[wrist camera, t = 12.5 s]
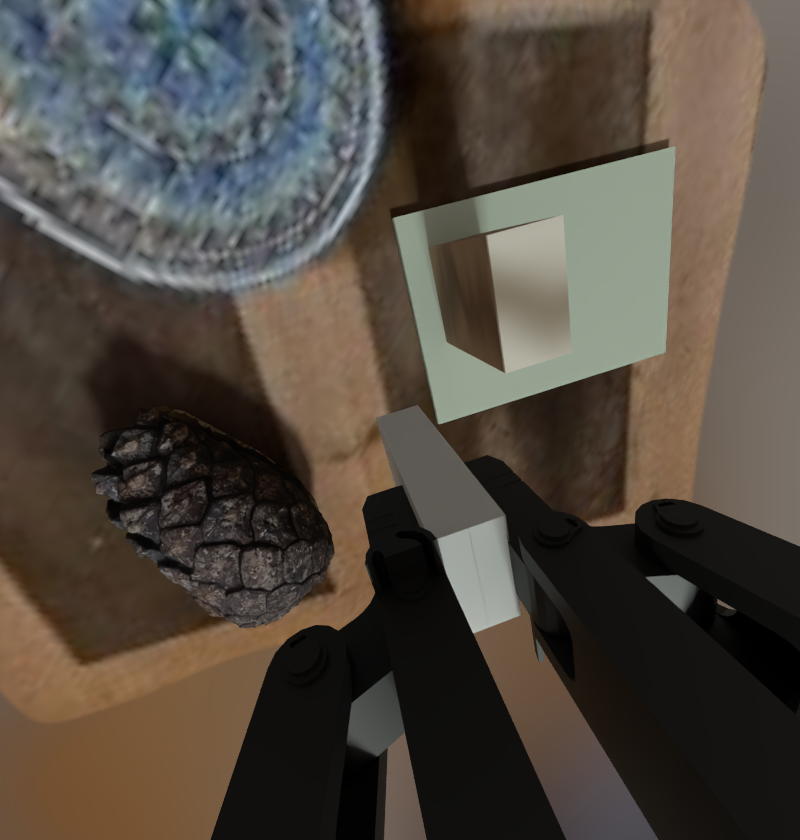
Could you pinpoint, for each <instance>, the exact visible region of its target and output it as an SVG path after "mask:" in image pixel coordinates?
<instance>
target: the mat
mask: <svg viewBox="0 0 800 840" xmlns="http://www.w3.org/2000/svg"><path fill="white" fill-rule="evenodd" d="M674 166H675V146H674V147H670V148H666V149H662V150H658V151H654V152H650V153H646V154H642V155H639V156H635V157H631V158H627V159H623V160H619V161H615V162H611V163H607V164H603V165H599V166H595V167H591V168H587V169H584V170H580V171H576V172H572V173H568V174H564V175H560V176H556V177H552V178H548V179H544V180H540V181H536V182H532V183H528V184H525V185H521V186H517V187H513V188H509V189H505V190H501V191H497V192H493V193H489V194H485V195H481V196H477V197H473V198H470V199H466V200H462V201H458V202H454V203H450V204H446V205H442V206H438V207H434V208H430V209H426V210H422V211H418V212H415V213H411V214H407V215H403V216H399V217H395V218H393V219H392V222H393V226H394V231H395V235H396V240H397V245H398V249H399V254H400V258H401V263H402V267H403V272H404V276H405V281H406V285H407V290H408V294H409V299H410V303H411V308H412V313H413V317H414V322H415V326H416V331H417V335H418V340H419V344H420V349H421V353H422V358H423V362H424V367H425V371H426V376H427V381H428V385H429V390H430V394H431V399H432V403H433V408H434V412H435V417H436V421H437V423H438V424H442V423H445V422H448V421H451V420H454V419H458V418H461V417H464V416H467V415H470V414H473V413H476V412H480V411H483V410H486V409H489V408H492V407H495V406H498V405H502V404H505V403H508V402H511V401H514V400H517V399H521V398H524V397H527V396H530V395H533V394H536V393H539V392H543V391H546V390H549V389H552V388H555V387H558V386H561V385H565V384H568V383H571V382H574V381H577V380H580V379H584V378H587V377H590V376H593V375H596V374H599V373H602V372H606V371H609V370H612V369H615V368H618V367H621V366H624V365H628V364H631V363H634V362H637V361H640V360H643V359H647V358H650V357H653V356H656V355H659V354H662V353H665V352H666V332H667V311H668V290H669V269H670V249H671V228H672V207H673V186H674ZM559 215H563V216H564V232H565V249H566V266H567V283H568V299H569V316H570V333H571V350H572V353H570V354H566V355H563V356H560V357H557V358H554V359H550V360H547V361H544V362H541V363H538V364H535V365H531V366H528V367H525V368H522V369H519V370H515V371H512V372H509V373H504V372H502V371H500V370H498V369H496V368H494V367H492V366H490V365H489V364H487V363H485V362H483V361H481V360H479V359H477V358H475V357H473V356H472V355H470V354H468V353H466V352H464V351H462V350H460V349H458V348H456V347H454V346H453V345H451V344H449V343H447V341H446V336H445V331H444V326H443V320H442V315H441V310H440V305H439V300H438V295H437V290H436V285H435V280H434V274H433V269H432V264H431V259H430V254H429V249H428V247H432V246H436V245H440V244H443V243H447V242H451V241H454V240H458V239H462V238H465V237H469V236H473V235H476V234H480V233H484V232H489V231H493V230H498V229H502V228H507V227H511V226H515V225H520V224H524V223H529V222H533V221H537V220H542V219H546V218H551V217H555V216H559Z"/></svg>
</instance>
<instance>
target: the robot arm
mask: <svg viewBox="0 0 800 840" xmlns="http://www.w3.org/2000/svg"><path fill="white" fill-rule="evenodd" d="M376 420H377V423H378V427H379V430H380V433H381V437H382V440H383V444H384V447H385V451H386V454H387V457H388V461H389V464H390V468H391V471H392V475H393V478H394V481H395V485H396V487H394V488H391V489H388V490H385V491H382V492H379V493H376V494H373V495H370V496H367V499H366V501H365V504H364V506H363V509H362V511H363V516H364V520H365V524H366V530H367V534H368V539H369V544H370V548H369V550H368V551H367V553H366V561H365V565H366V568H367V571H368V574H369V576H370V579H371V582H372V585H373V587H374V590H375V595H374V597H373V599H372V601H371V603H370V604H369V605H368V607H367V608H366V609H365V610H364V612H363V613H361V614H360V615H359V616H358V617H357V618H355V619H354V620H353V621H351V622H350V623H349V624H347V625H346V626H344V627H343V628H342V629H340V630H339V631H338V630H336V629H334V628H332V627H330V626H325V625H315V626H312V627H309V628H306V629H303V630H300V631H299V632H298V633H296V634H295V635H293V636H292V637H290V638H289V639H287V640H286V642H285V643H284V644H283V645H282V646H281V647H280V648H279V650H278V651H277V652H276V653H275V655H274V657H273V659H272V661H271V663H270V665H269V667H268V670H267V672H266V676H265V678H264V681H263V684H262V687H261V690H260V693H259V697H258V700H257V702H256V705H255V708H254V711H253V715H252V717H251V720H250V723H249V726H248V729H247V732H246V735H245V738H244V741H243V744H242V747H241V750H240V753H239V756H238V759H237V762H236V765H235V768H234V771H233V774H232V777H231V780H230V783H229V786H228V789H227V792H226V795H225V798H224V801H223V804H222V807H221V810H220V813H219V816H218V819H217V822H216V825H215V828H214V831H213V834H212V837H211V840H384V823H385V799H386V775H387V750H388V747H389V746H390V745H391V744H392V743H393V742H394V741H395V740H397V739H398V738H399V737H400V736H401V735H402V734H403V733H404V732H405V735H406V740H407V744H408V749H409V754H410V760H411V764H412V769H413V774H414V779H415V784H416V789H417V794H418V799H419V803H420V808H421V813H422V818H423V823H424V828H425V833H426V838H427V840H566V838H565V836H564V834H563V832H562V829H561V827H560V825H559V823H558V821H557V818H556V816H555V814H554V812H553V810H552V807H551V805H550V803H549V801H548V798H547V796H546V794H545V792H544V789H543V787H542V785H541V783H540V781H539V779H538V776H537V774H536V772H535V770H534V767H533V765H532V763H531V761H530V759H529V756H528V754H527V752H526V750H525V747H524V745H523V743H522V741H521V739H520V736H519V734H518V732H517V730H516V727H515V725H514V723H513V721H512V719H511V716H510V714H509V712H508V710H507V707H506V705H505V703H504V701H503V699H502V696H501V694H500V692H499V690H498V688H497V686H496V683H495V681H494V679H493V676H492V674H491V672H490V670H489V667H488V665H487V663H486V661H485V659H484V656H483V654H482V652H481V650H480V648H479V645H478V643H477V641H476V639H475V636H474V634H473V633H475V632H477V631H481V630H483V629H486V628H488V627H491V626H494V625H496V624H499V623H501V622H504V621H507V620H509V619H512V618H515V617H517V616H520V615H521V609H520V603H519V599H520V600H521V602H522V604H523V605H524V607H525V608H526V610H527V611H528V613H529V615H530V619H531V626H532V632H533V639H534V646H535V652H536V655H537V658H538V660H539V662H542V661H544V656H543V651H544V652H545V654H546V656H547V657H548V659H549V661H550V662H551V664H552V665H553V667H554V669H555V671H556V672H557V674H558V675H559V677H560V679H561V680H562V682H563V684H564V685H565V687H566V689H567V690H568V692H569V693H570V695H571V697H572V698H573V700H574V702H575V703H576V705H577V707H578V708H579V710H580V712H581V713H582V715H583V717H584V718H585V720H586V721H587V723H588V725H589V726H590V728H591V730H592V731H593V733H594V734H595V736H596V738H597V739H598V741H599V743H600V744H601V746H602V748H603V749H604V751H605V752H606V754H607V756H608V757H609V759H610V761H611V762H612V764H613V766H614V767H615V769H616V771H617V772H618V774H619V776H620V777H621V779H622V780H623V782H624V784H625V785H626V787H627V789H628V790H629V792H630V794H631V795H632V797H633V798H634V800H635V802H636V803H637V805H638V807H639V808H640V810H641V812H642V813H643V815H644V817H645V818H646V820H647V821H648V823H649V825H650V826H651V828H652V830H653V831H654V833H655V835H656V836H657V838H658V839H659V840H800V546H797V545H795V544H792V543H790V542H787V541H785V540H783V539H780V538H778V537H776V536H773V535H771V534H768V533H766V532H763V531H761V530H759V529H757V528H754V527H752V526H749V525H747V524H745V523H742V522H740V521H737V520H735V519H733V518H730V517H728V516H725V515H723V514H721V513H718V512H716V511H713V510H711V509H709V508H706V507H704V506H701V505H698V504H695V503H692V502H688V501H685V500H676V499H660V500H652V501H650V502H647V503H645V504H642V505H641V506H640V507H639V509H638V510H637V511H636V513H635V524H625V525H614V526H596V527H592V526H589V525H588V524H587V523H586V522H584V521H582V520H581V519H579V518H578V517H576V516H574V515H571V514H567V513H564V512H554V511H553V510H552V509H551V508H550V507H549V506H548V505H547V504H546V503H545V502H544V501H543V500H542V499H541V498H540V497H539V496H538V495H537V494H536V493H535V492H534V491H533V490H532V489H531V488H530V487H529V486H528V485H527V484H525V483H524V482H523V481H521V479H520V478H519V477H518V476H517V475H516V474H515V473H513V471H512V470H511V469H510V468H509V467H508V466H507V465H506V464H505V463H504V462H503V461H501V460H499V459H496V458H493V457H491V456H488V455H486V456H483V457H480V458H477V459H474V460H471V461H468V462H465V463H463V461H462V460H461V459H460V458H459V456H458V455H457V454H456V453H455V451H454V450H453V449H452V448H451V446H450V445H449V444H448V443H447V441H446V440H445V439H444V438H443V436H442V435H441V434H440V433H439V431H438V430H437V429H436V428H435V426H434V425H433V424H432V423H431V421H430V420H429V419H428V418H427V416H426V415H425V414H424V413H423V411H422V410H421V409H420V408H419V407H418V405H417V406H413V407H410V408H407V409H404V410H401V411H397V412H394V413H391V414H388V415H384V416H381V417H378V418H376ZM717 599H719V600H721V601H722V602H724V603H726V604H728V605H729V606H731V607H733V608H734V609H736V610H732V609H728V608H725V607H723V606H721V605H719V604H717Z"/></svg>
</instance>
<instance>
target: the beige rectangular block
mask: <svg viewBox="0 0 800 840" xmlns="http://www.w3.org/2000/svg"><path fill="white" fill-rule="evenodd" d="M428 249H429V254H430V259H431V264H432V269H433V274H434V280H435V285H436V290H437V295H438V300H439V305H440V310H441V315H442V320H443V326H444V331H445V336H446V341H447V343H449V344H451V345H453V346H454V347H456V348H458V349H460V350H462V351H464V352H466V353H468V354H470V355H472V356H473V357H475V358H477V359H479V360H481V361H483V362H485V363H487V364H489V365H490V366H492V367H494V368H496V369H498V370H500V371H502V372H504V373H509V372H512V371H515V370H519V369H522V368H525V367H528V366H531V365H535V364H538V363H541V362H544V361H547V360H550V359H554V358H557V357H560V356H563V355H566V354H570V353H572V350H571V333H570V316H569V299H568V283H567V266H566V249H565V232H564V216H563V215H559V216H555V217H551V218H546V219H542V220H537V221H533V222H529V223H524V224H520V225H515V226H511V227H507V228H502V229H498V230H493V231H489V232H484V233H480V234H476V235H473V236H469V237H465V238H462V239H458V240H454V241H451V242H447V243H443V244H440V245H436V246H432V247H428Z"/></svg>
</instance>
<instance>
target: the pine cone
mask: <svg viewBox="0 0 800 840" xmlns="http://www.w3.org/2000/svg"><path fill="white" fill-rule="evenodd" d="M159 411H170V412H169V414H168V415H164V414H161V413H160V412H159ZM214 430H215V432H214ZM99 439H100V448H99V452H100V455H101V458H102V459H103V460H104V461H105V462H106V463H107V466H106V467H104V468H102V469H99V470H97V471H95V472H93V473H91V474H90V478H91V480H92V481H93V482H94V484H95V491H96V493H98V494H100V495H107V496H109V497H111V498H112V499H111V500H108V502H107V507H106V513H107V514H108V517H109V521H110V522H111V523H112V524H114V525H115V526H117V527H118V528H121V529H123V530H125V531H127V532H128V533H127V534H126V539H127V541H128V542H129V543H130V544H131V545H132V546H133V547H134V549H135V550H136V554H137V556H138V558H143V557H149V558H150V559H151V560H152V561H153V562H155V563H157V564H158V566H157V567H158V569H159V571H160V572H162V573H163V574H165V576H166V577H167V578H168V580H170V581H171V582H173V583H176V584H180V585H182V587H183V589H184V591H185V592H186V593H187V594H188V593H190V594H192V595H193V599H194V600H195V601H196V602H197V603H198V604H199V605H200V606H201V607H202V608H203V609H204V610H205V611H206V612H207V613H208V614H209V615H210V616H218V617H225V618H226V619H227V620H228V621H230V622H233V623H235V624H237V625H239V627H240V628H250V627H254V628H256V627H257V626H259V625H261V624H263V625H267V624H269V623H270V622H274V621H277V620H278V619H279V618H280V617H283V616H284V615H285V614H286V613H288V612H289V611H290V610H291V609H292V608H293V607H294V606H297V605H298V604H299V602H300V601H301V599H302V598H303V596H304V595H305V594H308V593H309V592H310V591H311V588H312V586H313V585H314V584H315V583H321V582H322V580H323V578H324V575H325V573H326V571H327V567H328V566H329V565H330V560H331V559H332V558H333V556H334V546H333V541H332V534H331V532H330V530H329V527H328V524H327V522H326V521H325V520H324V518H323V517H322V513H320V512H319V510H318V508H317V505H316V502H315V500H314V498H313V497H312V496H311V495H310V493H309V492H308V491H307V490H306V488H305V487H304V486H303V484H302V483H301V482H300V480H298V479H297V478H296V477H294V476H293V475H292V474H291V473H289V472H288V471H286V470H284V469H282V468H281V467H280V466H279V465H277V464H276V463H275V462H274V461H272V460H271V459H270V458H268V457H267V456H265V455H264V454H263V453H261V452H260V451H258V450H257V449H255V448H253V447H251V446H249V445H247V444H245V443H243V442H241V441H239V440H237V439H235V438H233V437H232V436H230V435H228V434H226V433H224V432H223V431H221V430H219V429H217V428H215V427H213V426H211V425H209V424H207V423H205V422H203V421H201V420H200V419H198V418H196V417H194V416H192V415H191V414H189V413H187V412H185V411H181V410H172V411H171V410H170V409H169V408H168V407H166V406H161V405H160V406H156V407H154V408H153V409H152V410H147V409H141V408H140V409H139V410H138V416H137V420H136V423H135V426H134V427H126V428H121V429H116V430H111V431H107V432H105V433H103V434H102V435H101V436H100V437H99Z"/></svg>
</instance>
